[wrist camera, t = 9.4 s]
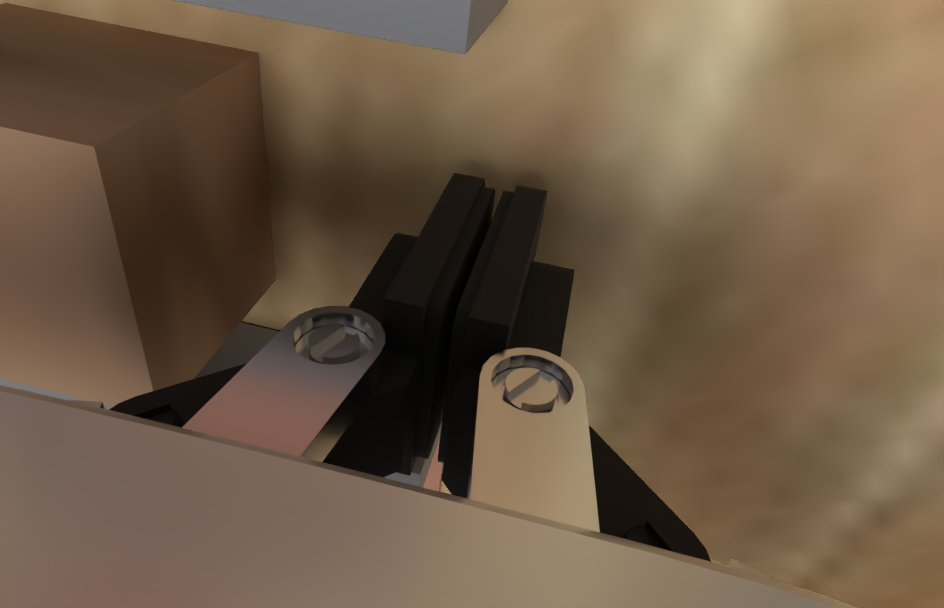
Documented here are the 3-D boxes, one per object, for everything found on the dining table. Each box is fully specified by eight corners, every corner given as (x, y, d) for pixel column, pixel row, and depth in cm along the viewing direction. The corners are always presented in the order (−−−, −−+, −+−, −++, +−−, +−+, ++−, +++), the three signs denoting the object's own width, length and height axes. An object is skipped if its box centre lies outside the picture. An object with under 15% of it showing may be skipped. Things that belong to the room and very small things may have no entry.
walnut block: (276, 277, 15) (159, 419, 11) (74, 230, 15) (-99, 352, 12) (261, 50, 12) (94, 147, 8) (9, 1, 12) (-250, 72, 9)
